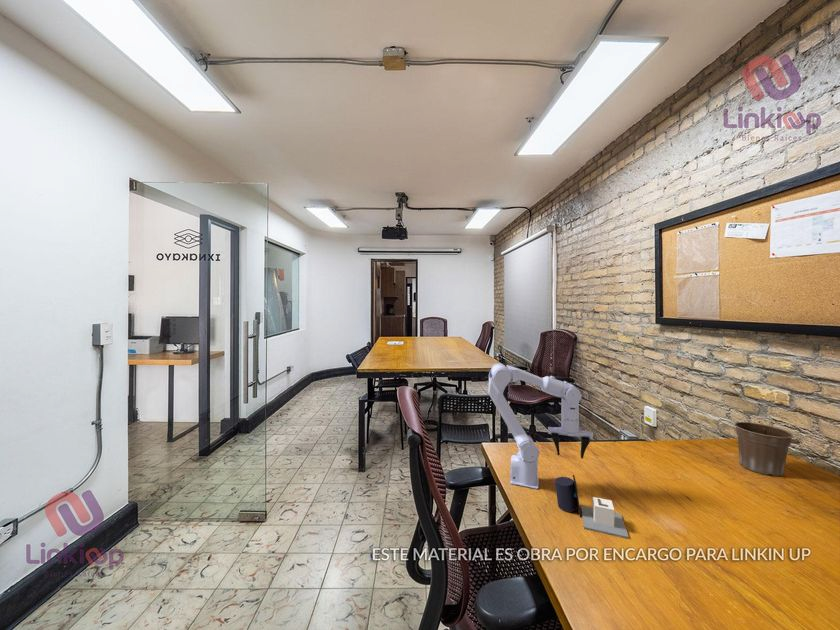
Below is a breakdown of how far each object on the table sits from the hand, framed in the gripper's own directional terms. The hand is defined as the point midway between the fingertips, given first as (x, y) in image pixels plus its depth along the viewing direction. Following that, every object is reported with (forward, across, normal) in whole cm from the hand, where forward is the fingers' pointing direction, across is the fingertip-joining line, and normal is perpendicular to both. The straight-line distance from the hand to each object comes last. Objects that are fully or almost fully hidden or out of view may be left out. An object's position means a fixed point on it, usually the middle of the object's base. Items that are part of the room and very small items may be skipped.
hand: (570, 455), depth 118 cm
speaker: (+10, -2, -16) cm, 19 cm away
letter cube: (+10, +8, -19) cm, 23 cm away
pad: (+10, +8, -19) cm, 23 cm away
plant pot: (+12, +72, +42) cm, 84 cm away
